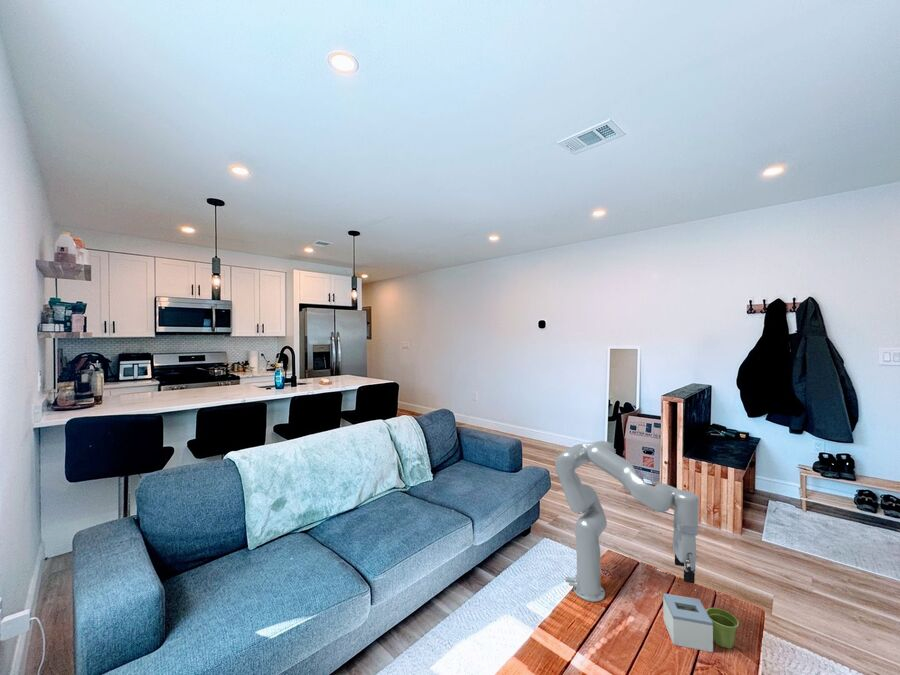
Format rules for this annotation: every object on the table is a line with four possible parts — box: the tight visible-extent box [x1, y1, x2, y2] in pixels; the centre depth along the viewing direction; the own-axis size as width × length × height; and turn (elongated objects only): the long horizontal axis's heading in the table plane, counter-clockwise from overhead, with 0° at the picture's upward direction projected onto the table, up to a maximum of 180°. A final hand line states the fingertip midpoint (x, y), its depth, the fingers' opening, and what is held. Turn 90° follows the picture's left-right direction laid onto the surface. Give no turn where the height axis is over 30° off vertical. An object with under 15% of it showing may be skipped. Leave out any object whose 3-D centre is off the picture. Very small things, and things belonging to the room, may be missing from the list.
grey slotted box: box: [662, 593, 714, 653], centre depth 132 cm, size 12×12×10 cm
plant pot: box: [705, 607, 740, 649], centre depth 130 cm, size 9×9×9 cm
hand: (684, 573), depth 133 cm, fingers open, 9 cm apart
